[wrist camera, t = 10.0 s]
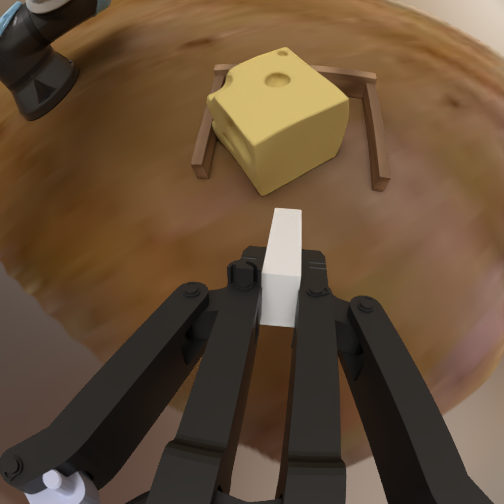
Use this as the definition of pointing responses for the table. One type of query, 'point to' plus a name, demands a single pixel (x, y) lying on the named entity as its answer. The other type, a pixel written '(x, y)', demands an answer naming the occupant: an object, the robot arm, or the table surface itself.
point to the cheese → (278, 118)
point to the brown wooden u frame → (343, 79)
